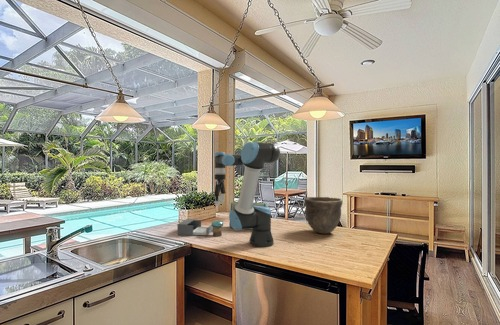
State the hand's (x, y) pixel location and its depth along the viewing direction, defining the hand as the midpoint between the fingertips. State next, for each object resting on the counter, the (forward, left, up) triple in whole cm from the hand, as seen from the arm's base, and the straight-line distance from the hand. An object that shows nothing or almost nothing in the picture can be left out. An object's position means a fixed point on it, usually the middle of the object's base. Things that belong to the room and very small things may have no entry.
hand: (219, 204), depth 193 cm
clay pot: (+14, -73, -22) cm, 77 cm away
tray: (+3, +14, -21) cm, 26 cm away
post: (-3, +1, -21) cm, 22 cm away
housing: (+3, +22, -21) cm, 31 cm away
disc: (-3, +1, -14) cm, 15 cm away
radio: (+20, -18, -22) cm, 34 cm away
